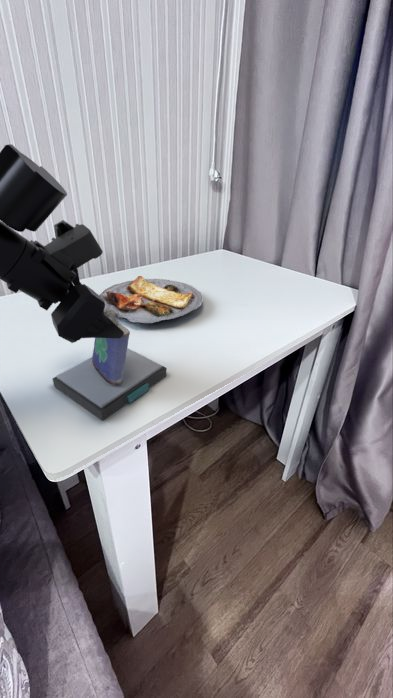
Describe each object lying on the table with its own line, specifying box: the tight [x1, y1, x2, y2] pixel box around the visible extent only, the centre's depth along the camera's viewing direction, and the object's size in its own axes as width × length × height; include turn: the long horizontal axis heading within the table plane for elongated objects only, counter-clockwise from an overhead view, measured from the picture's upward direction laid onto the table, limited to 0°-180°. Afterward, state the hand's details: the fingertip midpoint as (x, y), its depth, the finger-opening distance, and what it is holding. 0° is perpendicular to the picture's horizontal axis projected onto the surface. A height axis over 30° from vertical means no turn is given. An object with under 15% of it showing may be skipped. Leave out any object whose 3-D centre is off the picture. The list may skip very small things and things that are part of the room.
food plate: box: [98, 275, 204, 324], centre depth 81 cm, size 25×23×4 cm
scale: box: [52, 347, 167, 422], centre depth 55 cm, size 14×12×2 cm
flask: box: [91, 309, 131, 385], centre depth 52 cm, size 9×3×11 cm, turn 34°
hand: (111, 321), depth 50 cm, fingers open, 9 cm apart
